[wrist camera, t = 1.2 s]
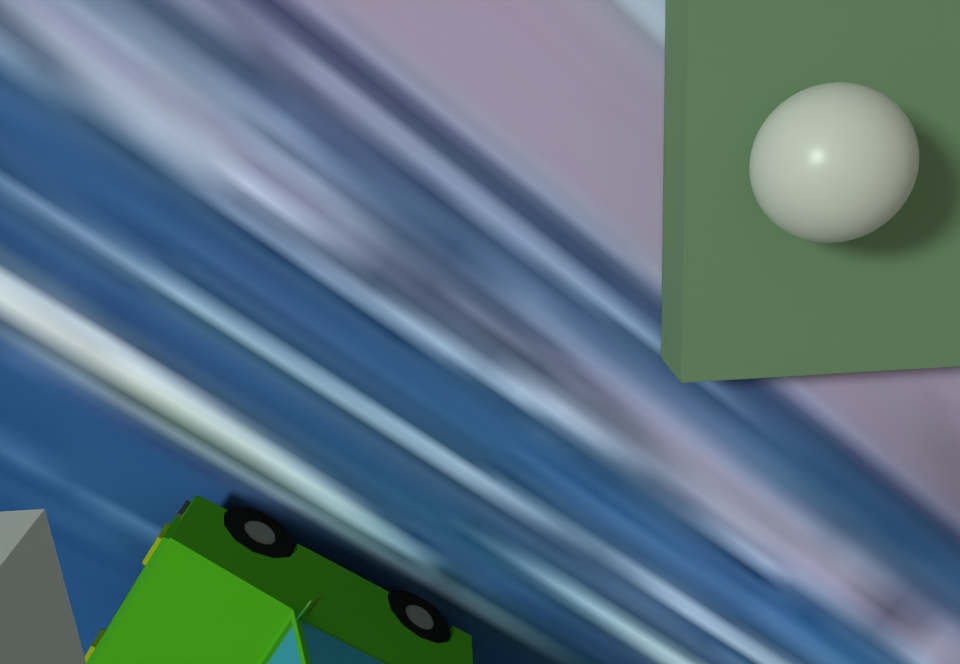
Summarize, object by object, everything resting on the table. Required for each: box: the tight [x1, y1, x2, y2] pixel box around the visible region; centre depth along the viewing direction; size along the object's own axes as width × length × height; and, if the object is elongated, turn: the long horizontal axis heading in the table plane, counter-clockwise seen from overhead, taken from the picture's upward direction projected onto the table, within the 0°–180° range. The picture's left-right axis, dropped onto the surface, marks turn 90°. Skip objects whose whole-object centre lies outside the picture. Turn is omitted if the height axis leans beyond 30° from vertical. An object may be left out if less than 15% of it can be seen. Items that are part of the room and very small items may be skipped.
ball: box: [749, 82, 919, 243], centre depth 28 cm, size 5×5×5 cm
